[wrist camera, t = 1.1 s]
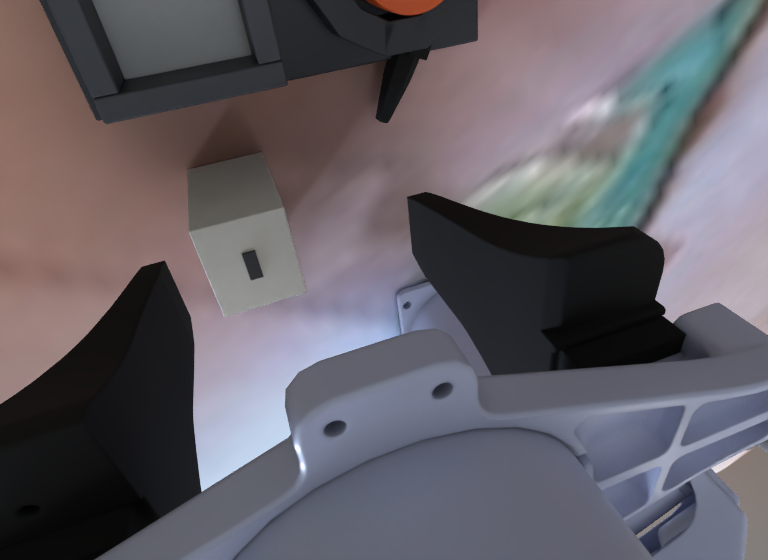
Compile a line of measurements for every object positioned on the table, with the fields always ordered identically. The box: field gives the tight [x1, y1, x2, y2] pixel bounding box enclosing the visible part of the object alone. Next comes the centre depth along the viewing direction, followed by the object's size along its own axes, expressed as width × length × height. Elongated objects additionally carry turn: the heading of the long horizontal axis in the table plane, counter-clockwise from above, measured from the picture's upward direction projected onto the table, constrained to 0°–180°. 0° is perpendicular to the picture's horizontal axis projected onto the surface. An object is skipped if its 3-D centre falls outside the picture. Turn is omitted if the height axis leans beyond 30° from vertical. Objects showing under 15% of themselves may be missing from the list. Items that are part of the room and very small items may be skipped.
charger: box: [187, 152, 307, 317], centre depth 21 cm, size 4×3×6 cm
